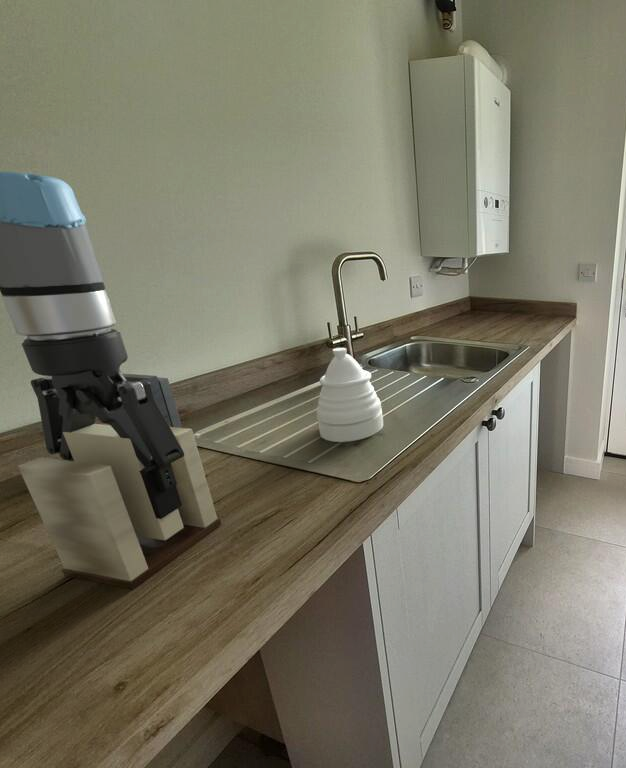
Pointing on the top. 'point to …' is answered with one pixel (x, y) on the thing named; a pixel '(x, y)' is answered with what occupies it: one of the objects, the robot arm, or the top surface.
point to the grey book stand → (160, 397)
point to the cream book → (123, 477)
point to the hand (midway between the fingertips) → (134, 506)
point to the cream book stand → (115, 517)
